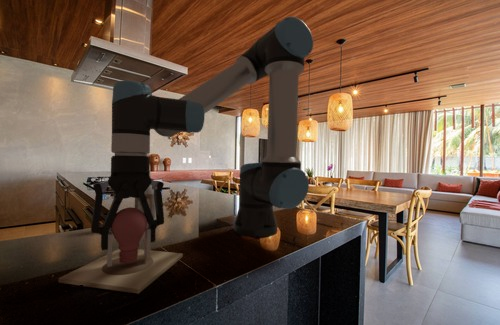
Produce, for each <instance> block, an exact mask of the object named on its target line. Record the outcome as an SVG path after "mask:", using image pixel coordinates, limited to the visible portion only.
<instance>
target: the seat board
mask: <svg viewBox="0 0 500 325" xmlns="http://www.w3.org/2000/svg"><path fill="white" fill-rule="evenodd" d="M119 252H121V251H120V250H119V248H118V249H116V250H114V251H112V266H110V267H108V266H107V254H106V255H104V256H102V257H100V258H97V259H95V260H94V261H92V262H89V263H87V264H85V265H83V266H81V267H79V268H77V269H75V270H72V271H70V272H69V273H66V274H64V275H62V276H60V277H58V283H60V284H66V285H68V284H69V285H74V286H80V285H83V286H82V287H88V288H95V289H96V288H97V289H103V290H110V291H116V292H124V293H133V294H140V293H141V292H142V291H144V289H146V288H147V287H148V286H149V285H151V284H152V283H154V281H156V280H157V279H158V278H159V277H160V276H162V275H163V274H164V273H165V272H166V271H168V270H169V269H170V268H171V267H173V266H174V265H175V264H176V263H178V261H180V260H181V259H182V258H183V256H184V254H183V253H181V252H179V253H178V252H169V251H162V250H161V251H160V250H152V249H150V259H146V257H145V256H144V249H141V248H138V255H137V260H136V261H135V262H132V263H121V262H119V260H120V259H119V258H120V257H119V255H120V254H119Z"/></svg>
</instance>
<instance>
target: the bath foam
mask: <svg viewBox="0 0 500 325" xmlns="http://www.w3.org/2000/svg"><path fill="white" fill-rule="evenodd" d="M149 175H150V176H151V169H149ZM144 193H145V196H146V199H147V202H148V205H149V207H150V210H151V213H152V215H153V218H154V220H156V211H155V200H154V190H153V189H152V185H150V186H149V187H148V188H147V190H146V191H145V192H144ZM134 208H137V209H139V210H141V211H142V212H143V209H142V207H141V204H140V201H139V199H138V198H134ZM143 213H144V212H143ZM148 226H149V225H148V222H147V227H148Z"/></svg>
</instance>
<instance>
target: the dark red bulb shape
mask: <svg viewBox="0 0 500 325" xmlns="http://www.w3.org/2000/svg"><path fill="white" fill-rule="evenodd" d="M146 227H147V218H146V216H145V214H144V213H143V212H142V211H141V210H139V209H137V208H135V207H125V208H122V209H120V210H119V211H117V213H116V215H115V218H114V220H113V223H112V225H111V228H110V231H111V232H112V234H113V238H114V240H115V241H116V242H117V244H118V249H119V250H120V251H121V252H119V254H120V255H119V257H120V258H119V259H120V260H119V262H121V263H132V262H135V261H136V260H137V255H138V249H139V248H140V241H141V240H142V237H143V236H144V235H145V230H146Z"/></svg>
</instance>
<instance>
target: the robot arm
mask: <svg viewBox="0 0 500 325" xmlns="http://www.w3.org/2000/svg"><path fill="white" fill-rule="evenodd" d="M313 48H314V38H313V34H312V32H311V30H310V28H309V27H308V26H307V24H306V23H305V22H304V21H303V20H302V19H300V18H298V17H295V16H287V17H284V18H283V19H281V20H280V21H278V22H276V24H275V26H273V27H272V28H271V29H270V30H268V31H267V32H266V33H265V34H263V35H262V36H260V38H258V39H257V40H256V41H255V42H254V43H253V44H252V45H251V46H250V47H249V48H248V49H247V50H245V52H244V53H242V54H241V55H239V56H238V57H236V59H235V63H233V64H232V65H230V66H228V67H227V68H225V69H224V70H222V71H220V72H219V73H217V74H216V75H215V76H213V77H211V78H209V79H208V80H207V81H205V82H203V83H202V84H200V85H199V86H197V87H196V88H194V89H192V90H191V91H189V92H188V93H186V94H184V95H183V96H181V97H180V98H178V99H177V98H171V97H170V98H169V97H164V96H157V95H154V94H152V89H151V87H150V86H149V85H147V83H143V82H139V81H134V80H120V81H117V82H115V83H114V85H113V87H112V88H113V89H112V100H111V146H110V147H111V149H110V151H111V153H112V154H114V155H112V156H111V158H110V176H109V178H108V180H107V181H101V182H94V184H93V189H94V193H95V199H94V204H93V211H92V217H91V218H92V220H91V224H90V225H91V226H90V231H91V234H100V248H101V250H102V251H106V255H107V266H108V267H110V266H112V252H113V238H114V236H113V234H112V231H111V225H112V223H113V220H114V218H115V215H116V213H117V212H119V211H118V210H119V207H120V206H121V203H122V202H123V199H129V198H130V199H131V198H134V199H135V198H138V199H139V201H140V204H141V207H142V209H143V212H144V214H145V216H146V218H147V222H148V225H149V227H146V230H145V232H144V247H143V248H144V249H143V250H144V256H145V257H146V259H150V250H151V246H152V245H151V243H154V242H155V241H156V229H157V228H158V226H161V225H163V224H165V215H164V214H165V213H164V203H163V188H164V182H163V181H161V180H152V177H151V174H150V175H149V170H150V160H151V159H150V157H149V156H148V155H149V154H150V151H151V150H150V149H151V148H150V147H151V145H150V144H151V130H154V132H156V133H157V134H158V135H159V136H162V137H167V138H169V137H171V138H172V137H174V136H175V135H177V134H180V133H187V134H190V133H193V134H194V133H200V132H201V131H202V130H203V127H204V124H205V116H206V113H208V112H209V111H211V110H212V109H214V108H215V107H216V106H218V105H220V104H221V103H222V102H224V100H226V99H228V98H229V97H231V96H232V95H233V94H235V93H236V92H238V91H240V90H241V89H242V88H244V87H245V86H246V85H253V84H255V83H256V82H257V81H260V80H261V79H263V78H266V77H269V82H268V83H269V85H268V86H269V87H268V108H267V109H268V110H267V111H268V112H267V116H268V117H267V141H266V142H267V146H266V156H265V157H264V158H263V159H262V160H261V162H250V163H249V162H248V163H244V164H242V165H241V166H240V169H239V171H240V172H239V200H238V201H239V205H238V206H239V207H238V211H237V213H236V217H235V219H234V222H233V231H234V233H236V234H238V235H242V236H245V237H246V236H247V237H269V236H273V235H275V234H277V232H278V221H277V219H276V214H275V211H274V208H278V209H285V210H291V209H294V208H296V207H299V205H301V203H302V202H303V201H304V200H305V199H306V197H307V195H308V192H309V188H310V186H309V184H310V182H309V178H308V176H307V175H306V173H305V172H304V171H303V170H302V162H301V160H299V159H298V157H297V138H298V137H297V132H298V105H299V103H298V101H299V79H300V78H299V76H300V75H301V74H302V73H303V72H304V70H305V58H307V57H308V56H309V55H310V54H311V53H312V51H313ZM150 185H152V189H153V190H154V200H155V220H154V218H153V215H152V213H151V210H150V207H149V205H148V202H147V199H146V196H145V193H144V192H145V191H146V190H147V188H148V187H149V186H150ZM108 187H110V188H111V189H112V191H113V192H114V193H115V195H114V196H113V200H112V203H111V205H110V207H109V209H108V212H107V214H106V217H105V219H104V221H103V224H102V225H100V220H101V212H102V208H103V207H102V206H103V201H104V200H103V199H104V194H103V193H106V192H107V190H108V189H107V188H108ZM273 207H274V208H273Z"/></svg>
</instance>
